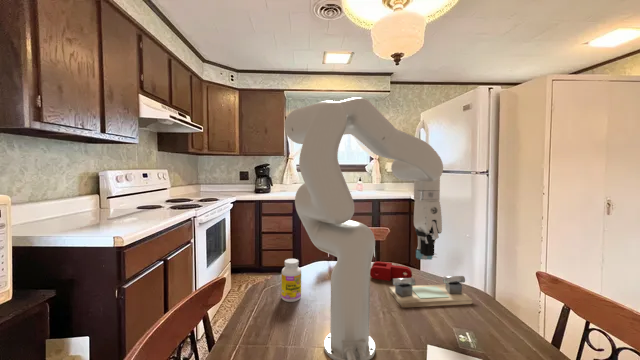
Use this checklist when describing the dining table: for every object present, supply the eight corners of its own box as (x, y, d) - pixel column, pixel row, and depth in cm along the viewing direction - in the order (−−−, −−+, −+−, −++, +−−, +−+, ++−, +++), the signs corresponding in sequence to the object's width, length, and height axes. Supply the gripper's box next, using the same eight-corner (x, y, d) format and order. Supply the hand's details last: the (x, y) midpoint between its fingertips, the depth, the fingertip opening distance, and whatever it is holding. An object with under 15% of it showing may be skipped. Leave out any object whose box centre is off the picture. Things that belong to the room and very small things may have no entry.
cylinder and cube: (467, 294, 97) (467, 278, 96) (396, 297, 94) (396, 281, 94) (458, 288, 101) (459, 273, 101) (391, 291, 98) (391, 276, 98)
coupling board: (472, 303, 93) (472, 298, 93) (402, 307, 90) (402, 301, 90) (451, 288, 105) (451, 283, 105) (388, 290, 102) (388, 286, 102)
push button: (434, 256, 91) (434, 225, 91) (439, 261, 86) (440, 229, 85) (413, 255, 92) (413, 225, 91) (417, 261, 87) (417, 229, 86)
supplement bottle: (282, 303, 92) (282, 265, 92) (280, 294, 99) (280, 258, 98) (303, 301, 94) (303, 263, 93) (299, 292, 100) (299, 256, 100)
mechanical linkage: (369, 278, 114) (369, 266, 114) (372, 272, 121) (372, 260, 120) (411, 284, 109) (411, 271, 108) (411, 277, 115) (412, 265, 115)
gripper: (452, 198, 80) (451, 262, 81) (425, 192, 96) (425, 245, 98) (427, 199, 79) (426, 263, 81) (404, 192, 96) (404, 246, 97)
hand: (425, 252), depth 89 cm, fingers closed on push button, 3 cm apart
